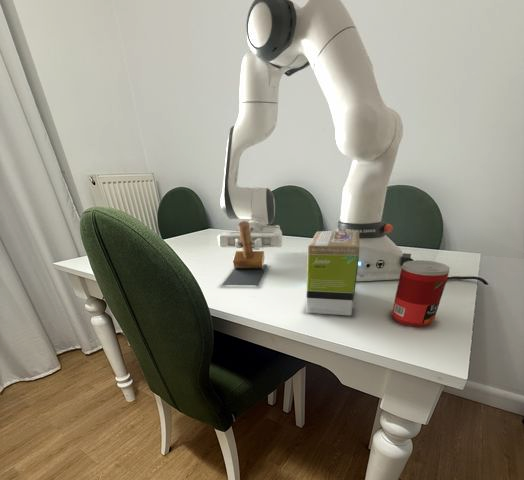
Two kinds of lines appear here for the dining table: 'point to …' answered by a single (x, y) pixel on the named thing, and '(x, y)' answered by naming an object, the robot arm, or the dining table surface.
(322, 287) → the tea box
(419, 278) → the canned food
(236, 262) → the brush
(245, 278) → the mat
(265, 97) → the robot arm
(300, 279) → the dining table surface
